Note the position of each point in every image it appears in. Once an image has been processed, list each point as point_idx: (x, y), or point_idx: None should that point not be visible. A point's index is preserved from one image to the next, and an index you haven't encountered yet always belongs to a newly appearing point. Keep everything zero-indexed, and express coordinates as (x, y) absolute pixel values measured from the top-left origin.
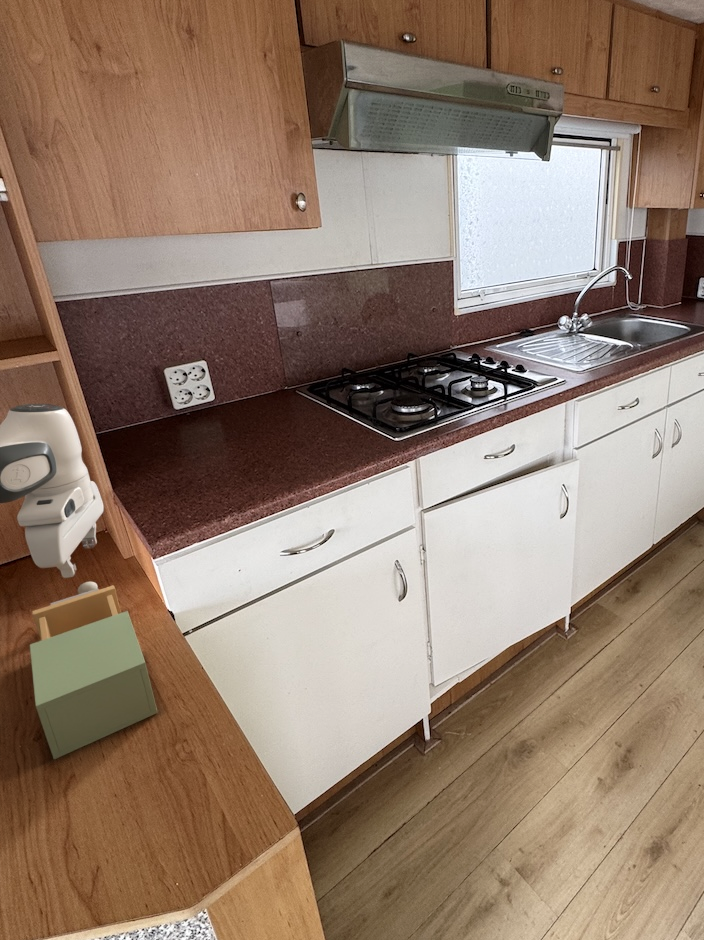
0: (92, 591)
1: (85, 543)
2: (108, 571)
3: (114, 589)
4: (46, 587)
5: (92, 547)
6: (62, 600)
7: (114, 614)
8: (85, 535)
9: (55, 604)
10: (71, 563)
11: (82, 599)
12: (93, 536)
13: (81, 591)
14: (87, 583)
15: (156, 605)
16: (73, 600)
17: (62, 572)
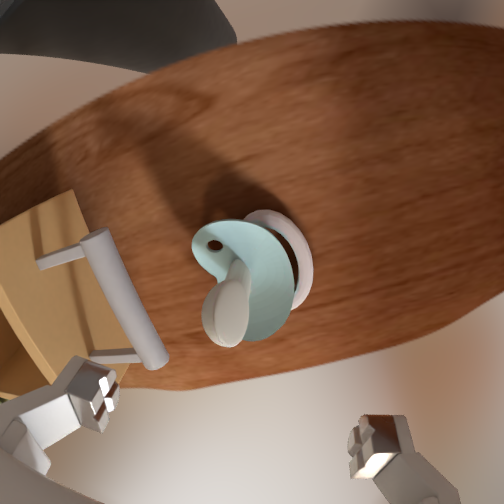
0: (139, 356)
1: (364, 445)
2: (446, 279)
3: None
4: (450, 113)
5: (350, 435)
6: (100, 277)
7: (8, 396)
8: (400, 472)
9: (4, 301)
10: (58, 439)
11: (35, 361)
12: (375, 482)
13: (204, 303)
14: (211, 338)
15: (208, 384)
16: (24, 344)
17: (61, 377)
